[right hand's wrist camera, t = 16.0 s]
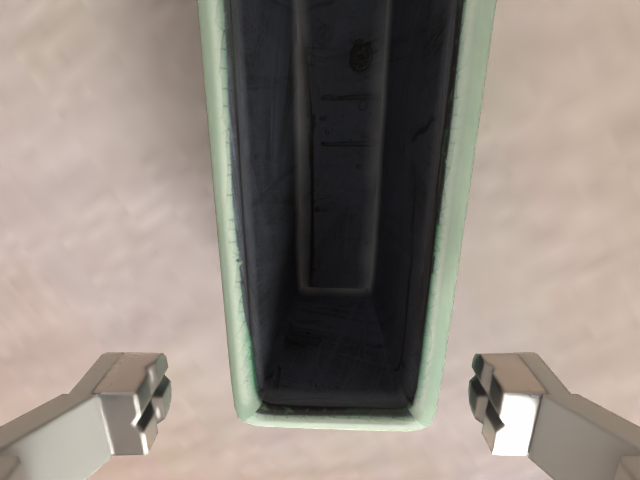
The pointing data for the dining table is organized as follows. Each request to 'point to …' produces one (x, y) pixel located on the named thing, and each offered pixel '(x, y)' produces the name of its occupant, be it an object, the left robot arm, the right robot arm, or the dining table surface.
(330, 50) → the planter
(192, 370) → the dining table surface
